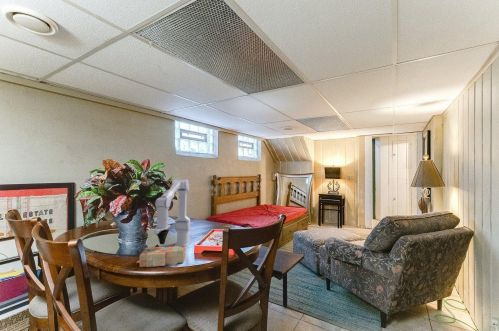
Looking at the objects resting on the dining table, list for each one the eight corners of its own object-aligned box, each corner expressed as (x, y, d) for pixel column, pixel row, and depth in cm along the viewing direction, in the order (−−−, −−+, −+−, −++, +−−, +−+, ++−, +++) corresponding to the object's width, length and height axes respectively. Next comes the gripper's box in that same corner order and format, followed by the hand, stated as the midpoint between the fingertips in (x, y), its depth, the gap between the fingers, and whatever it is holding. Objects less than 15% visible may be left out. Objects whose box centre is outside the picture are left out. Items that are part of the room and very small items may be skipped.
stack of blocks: (185, 245, 132) (183, 252, 120) (185, 256, 132) (183, 264, 120) (146, 247, 129) (139, 254, 117) (145, 258, 129) (139, 267, 117)
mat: (144, 257, 131) (144, 256, 131) (182, 259, 129) (182, 258, 129) (136, 262, 123) (136, 262, 124) (175, 264, 121) (175, 264, 121)
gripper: (162, 216, 137) (161, 240, 137) (148, 221, 123) (148, 247, 122) (173, 217, 136) (173, 240, 136) (161, 221, 122) (160, 248, 121)
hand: (162, 243), depth 129 cm, fingers closed
